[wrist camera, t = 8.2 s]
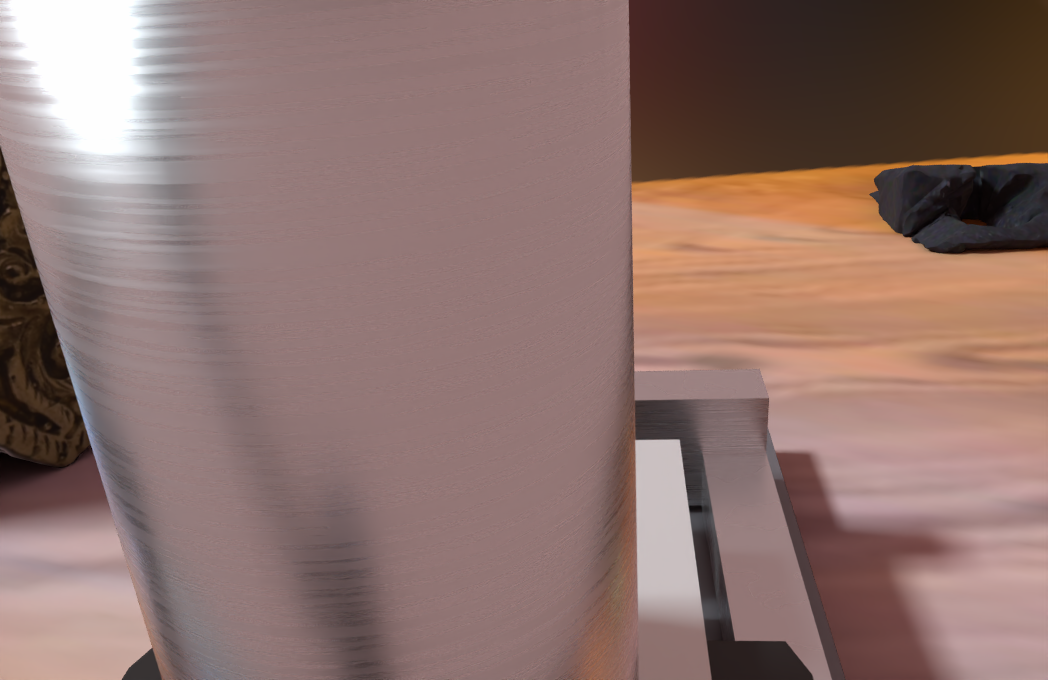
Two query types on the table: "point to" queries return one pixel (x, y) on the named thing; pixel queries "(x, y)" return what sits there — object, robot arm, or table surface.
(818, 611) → the press bench
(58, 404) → the lamp shade
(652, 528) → the robot arm
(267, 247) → the press ram
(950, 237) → the black crumpled cloth
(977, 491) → the table surface
